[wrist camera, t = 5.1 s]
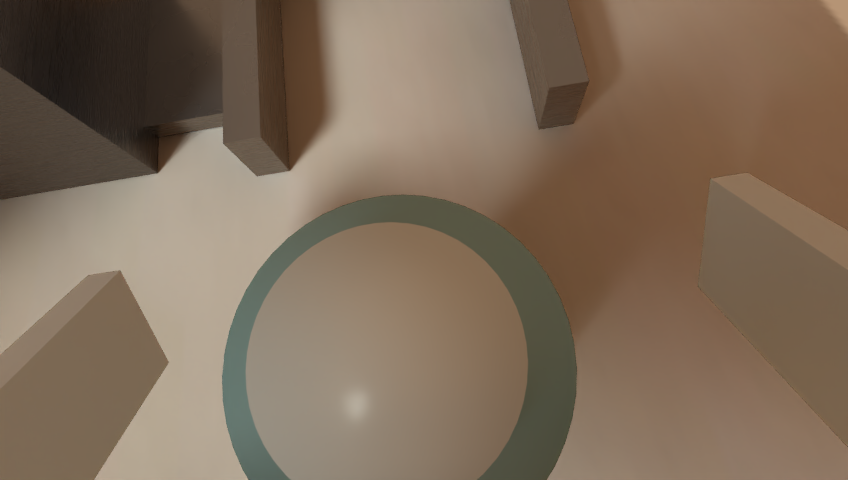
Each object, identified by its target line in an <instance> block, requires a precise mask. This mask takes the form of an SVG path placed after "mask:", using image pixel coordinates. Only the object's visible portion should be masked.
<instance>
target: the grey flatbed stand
mask: <svg viewBox="0 0 848 480" xmlns="http://www.w3.org/2000/svg"><path fill="white" fill-rule="evenodd" d="M510 4H511V8H512V13H513V17H514V22H515V26H516V30H517V35H518V39H519V44H520V48H521V52H522V57H523V61H524V66H525V70H526V74H527V79H528V83H529V88H530V92H531V96H532V101H533V105H534V110H535V114H536V118H537V123H538V127H539V129H544V128H550V127H556V126H562V125H568V124H573V123H574V121H575V118H576V115H577V113H578V110H579V107H580V104H581V102H582V99H583V96H584V94H585V91H586V88H587V86H588V83H589V78H588V75H587V71H586V67H585V64H584V60H583V56H582V53H581V49H580V45H579V41H578V38H577V34H576V30H575V27H574V23H573V19H572V16H571V12H570V8H569V5H568V1H567V0H510ZM221 126H223V144H224V145H225V146H226V147H227V148H228V149H230V150H231V151H232V152H233V153H234V154H235V155H236V156H237V157H238V158H239V159H240V160H241V161H242V162H243V163H244V164H245V165H246V166H247V167H248V168H249V169H250V170H251V171H252V172H253V173H254V174H255V175H256V176H261V175H267V174H273V173H279V172H285V171H289V158H288V140H287V121H286V103H285V84H284V66H283V47H282V28H281V10H280V0H0V199H6V198H12V197H18V196H24V195H30V194H36V193H42V192H48V191H54V190H60V189H66V188H72V187H77V186H83V185H89V184H95V183H101V182H107V181H113V180H119V179H125V178H131V177H137V176H143V175H149V174H155V173H157V162H158V137H163V136H169V135H175V134H180V133H186V132H192V131H198V130H204V129H209V128H215V127H221Z"/></svg>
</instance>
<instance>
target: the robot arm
mask: <svg viewBox="0 0 848 480" xmlns="http://www.w3.org/2000/svg"><path fill="white" fill-rule="evenodd" d="M698 287H699V288H700V289H701V290H702V291H703V292H704V293H705V295H706V296H707V297H708V298H709V299H710V300H711V301H712V302H713V303H714V304H715V305H716V306H717V307H718V308H719V310H720V311H721V312H722V313H723V314H724V315H725V316H726V317H727V318H728V319H729V320H730V321H731V322H732V323H733V325H734V326H735V327H736V328H737V329H738V330H739V331H740V332H741V333H742V334H743V335H744V336H745V337H746V339H747V340H748V341H749V342H750V343H751V344H752V345H753V346H754V347H755V348H756V349H757V350H758V351H759V352H760V354H761V355H762V356H763V357H764V358H765V359H766V360H767V361H768V362H769V363H770V364H771V365H772V366H773V367H774V369H775V370H776V371H777V372H778V373H779V374H780V375H781V376H782V377H783V378H784V379H785V380H786V381H787V382H788V384H789V385H790V386H791V387H792V388H793V389H794V390H795V391H796V392H797V393H798V394H799V395H800V396H801V397H802V399H803V400H804V401H805V402H806V403H807V404H808V405H809V406H810V407H811V408H812V409H813V410H814V411H815V413H816V414H817V415H818V416H819V417H820V418H821V419H822V420H823V421H824V422H825V423H826V424H827V425H828V426H829V428H830V429H831V430H832V431H833V432H834V433H835V434H836V435H837V436H838V437H839V438H840V439H841V440H842V441H843V443H844V444H845V445H846V446H847V447H848V230H847V229H845V228H843V227H841V226H840V225H838V224H836V223H834V222H833V221H831V220H829V219H827V218H826V217H824V216H822V215H820V214H819V213H817V212H815V211H813V210H812V209H810V208H808V207H806V206H805V205H803V204H801V203H799V202H798V201H796V200H794V199H793V198H791V197H789V196H787V195H786V194H784V193H782V192H780V191H779V190H777V189H775V188H773V187H772V186H770V185H768V184H766V183H765V182H763V181H761V180H759V179H758V178H756V177H754V176H752V175H751V174H749V173H742V174H735V175H729V176H722V177H716V178H710V186H709V194H708V203H707V212H706V220H705V229H704V237H703V246H702V255H701V263H700V272H699V281H698ZM168 363H169V362H168V360H167V358H166V356H165V354H164V352H163V350H162V349H161V347H160V345H159V343H158V341H157V339H156V337H155V335H154V333H153V331H152V330H151V328H150V326H149V324H148V322H147V320H146V318H145V316H144V314H143V313H142V311H141V309H140V307H139V305H138V303H137V301H136V299H135V297H134V296H133V294H132V292H131V290H130V288H129V286H128V284H127V282H126V280H125V279H124V277H123V275H122V273H121V271H120V270H119V271H112V272H106V273H100V274H93V275H88V276H87V277H86V278H85V279H84V280H82V281H81V282H80V283H79V284H78V285H77V286H76V287H75V288H74V289H73V290H71V291H70V292H69V293H68V294H67V295H66V296H65V297H64V298H63V299H62V300H60V301H59V302H58V303H57V304H56V305H55V306H54V307H53V308H52V309H51V310H49V311H48V312H47V313H46V314H45V315H44V316H43V317H42V318H41V319H40V320H38V321H37V322H36V323H35V324H34V325H33V326H32V327H31V328H30V329H29V330H27V331H26V332H25V333H24V334H23V335H22V336H21V337H20V338H19V339H18V340H16V341H15V342H14V343H13V344H12V345H11V346H10V347H9V348H8V349H7V350H5V351H4V352H3V353H2V354H1V355H0V480H94V479H95V477H96V476H97V474H98V472H99V471H100V469H101V468H102V466H103V465H104V463H105V462H106V460H107V458H108V457H109V455H110V454H111V452H112V451H113V449H114V447H115V446H116V444H117V443H118V441H119V440H120V438H121V436H122V435H123V433H124V432H125V430H126V429H127V427H128V425H129V424H130V422H131V421H132V419H133V418H134V416H135V415H136V413H137V411H138V410H139V408H140V407H141V405H142V404H143V402H144V400H145V399H146V397H147V396H148V394H149V393H150V391H151V389H152V388H153V386H154V385H155V383H156V382H157V380H158V378H159V377H160V375H161V374H162V372H163V371H164V369H165V368H166V366H167V364H168Z"/></svg>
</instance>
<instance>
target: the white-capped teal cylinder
mask: <svg viewBox="0 0 848 480" xmlns="http://www.w3.org/2000/svg"><path fill="white" fill-rule="evenodd" d="M576 376H577V366H576V357H575V348H574V341H573V337H572V333H571V329H570V325H569V321H568V318H567V315H566V312H565V310H564V307H563V305H562V302H561V299H560V297H559V295H558V293H557V291H556V289H555V288H554V286H553V284H552V282H551V280H550V278H549V276H548V275H547V274H546V272H545V271H544V270H543V268H542V267H541V265H540V264H539V263H538V261H537V260H536V258H535V257H534V256H533V255H532V254H531V253H530V252H529V251H528V250H527V249H526V248H525V246H524V245H523V244H522V243H521V242H520V241H519V240H517V239H516V238H515V237H514V236H513V235H511V234H510V233H509V232H508V231H507V230H505V229H504V228H503V227H501V226H500V225H498V224H497V223H495V222H494V221H492V220H491V219H489V218H487V217H486V216H484V215H482V214H480V213H478V212H476V211H473V210H471V209H469V208H467V207H465V206H462V205H459V204H456V203H453V202H449V201H446V200H442V199H437V198H432V197H426V196H415V195H391V196H380V197H374V198H369V199H363V200H360V201H356V202H353V203H350V204H347V205H343V206H341V207H339V208H336V209H334V210H332V211H330V212H327V213H325V214H323V215H321V216H320V217H318V218H316V219H315V220H313V221H311V222H310V223H308V224H306V225H305V226H303V227H302V228H301V229H299V230H298V231H297V232H295V233H294V234H293V235H292V236H290V237H289V238H288V239H287V240H286V241H285V242H284V243H283V244H282V245H281V246H280V247H279V248H277V249H276V250H275V251H274V252H273V253H272V255H271V256H270V257H269V258H268V259H267V261H266V262H265V263H264V264H263V266H262V267H261V268H260V269H259V271H258V272H257V274H256V275H255V277H254V278H253V280H252V282H251V283H250V285H249V286H248V288H247V290H246V292H245V294H244V296H243V298H242V300H241V302H240V304H239V306H238V308H237V311H236V313H235V316H234V319H233V322H232V325H231V328H230V331H229V335H228V340H227V345H226V349H225V354H224V365H223V375H222V384H223V404H224V411H225V417H226V424H227V428H228V431H229V434H230V438H231V441H232V445H233V448H234V450H235V453H236V455H237V457H238V460H239V462H240V464H241V467H242V469H243V471H244V473H245V474H246V476H247V478H248V479H249V480H547V478H548V476H549V475H550V473H551V472H552V470H553V468H554V467H555V464H556V462H557V460H558V458H559V455H560V453H561V451H562V449H563V446H564V444H565V441H566V438H567V435H568V431H569V428H570V424H571V421H572V417H573V410H574V404H575V397H576Z"/></svg>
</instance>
